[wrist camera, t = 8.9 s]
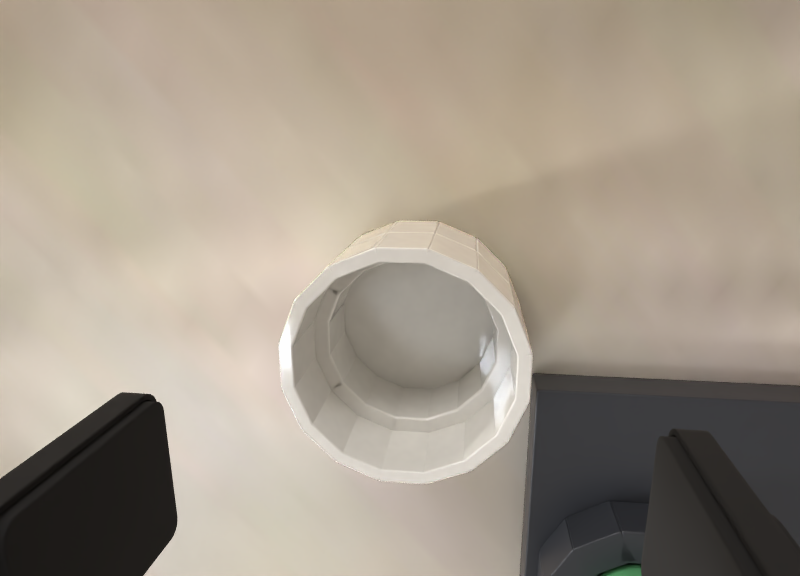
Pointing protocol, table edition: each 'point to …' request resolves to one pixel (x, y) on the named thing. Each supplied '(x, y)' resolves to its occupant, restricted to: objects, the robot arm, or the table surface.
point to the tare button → (624, 570)
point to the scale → (640, 460)
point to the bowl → (408, 355)
